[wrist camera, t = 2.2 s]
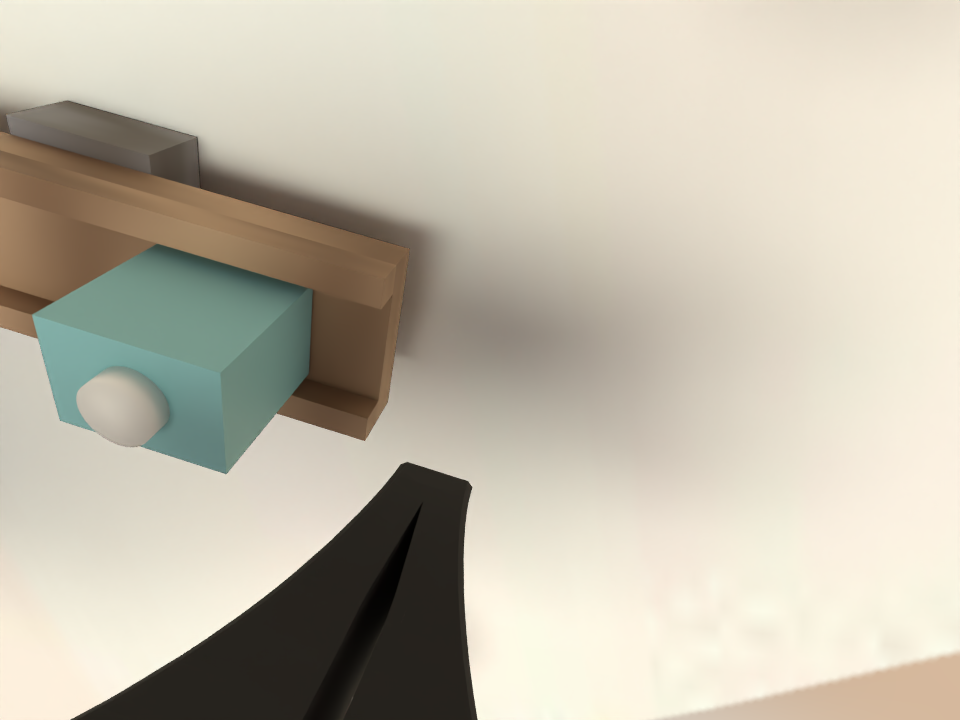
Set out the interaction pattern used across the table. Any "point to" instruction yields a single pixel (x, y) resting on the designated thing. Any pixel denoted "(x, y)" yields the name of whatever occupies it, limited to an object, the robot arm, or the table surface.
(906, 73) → the table surface
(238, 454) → the rider
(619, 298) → the table surface
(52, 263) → the beam
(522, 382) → the table surface
